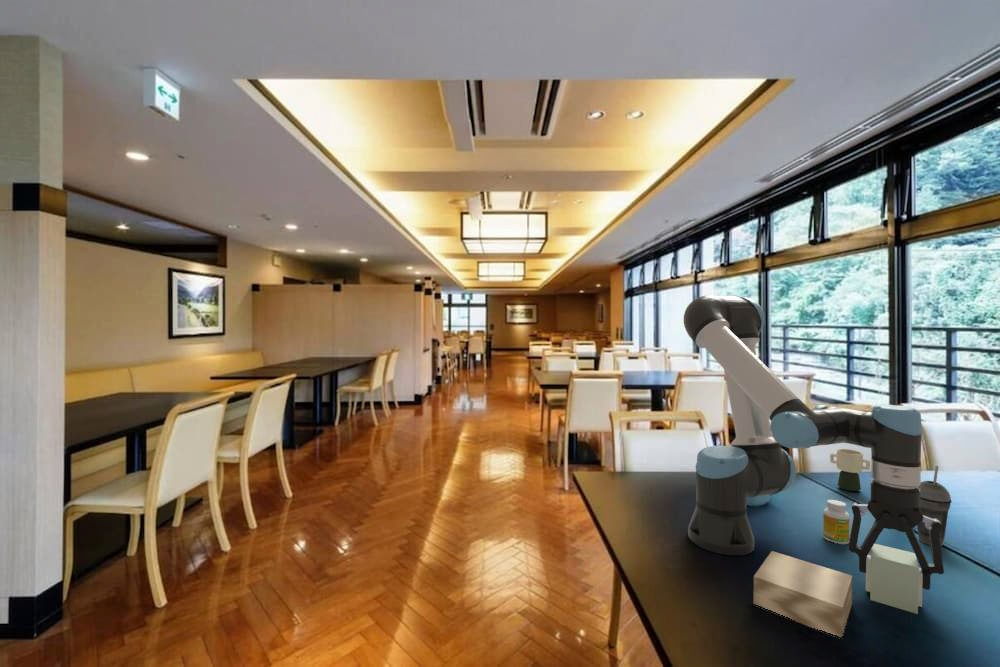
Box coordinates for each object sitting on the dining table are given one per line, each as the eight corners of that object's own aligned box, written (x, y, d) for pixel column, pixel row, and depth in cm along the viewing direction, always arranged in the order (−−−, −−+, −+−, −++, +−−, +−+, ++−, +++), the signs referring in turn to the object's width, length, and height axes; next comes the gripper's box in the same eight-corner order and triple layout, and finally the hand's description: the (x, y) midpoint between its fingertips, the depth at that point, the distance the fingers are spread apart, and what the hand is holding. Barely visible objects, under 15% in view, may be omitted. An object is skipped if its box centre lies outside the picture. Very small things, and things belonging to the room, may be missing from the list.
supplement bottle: (838, 546, 113) (838, 507, 112) (817, 536, 118) (818, 499, 118) (854, 543, 114) (855, 505, 114) (833, 534, 119) (834, 497, 119)
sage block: (870, 599, 90) (871, 555, 90) (869, 584, 96) (870, 542, 96) (917, 614, 86) (918, 567, 86) (914, 597, 91) (915, 553, 91)
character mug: (872, 492, 150) (873, 453, 150) (866, 496, 146) (867, 457, 145) (832, 482, 159) (833, 446, 158) (826, 487, 154) (827, 449, 154)
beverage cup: (930, 535, 119) (931, 460, 118) (959, 549, 111) (961, 469, 111) (903, 535, 118) (905, 460, 118) (931, 549, 111) (932, 469, 111)
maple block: (753, 606, 89) (753, 576, 88) (771, 577, 99) (771, 550, 99) (841, 641, 79) (842, 607, 79) (851, 605, 89) (852, 575, 89)
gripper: (832, 477, 94) (830, 585, 94) (969, 500, 81) (966, 625, 82) (834, 468, 100) (832, 570, 100) (962, 489, 87) (959, 606, 88)
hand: (892, 595), depth 91 cm, fingers closed on sage block, 7 cm apart
